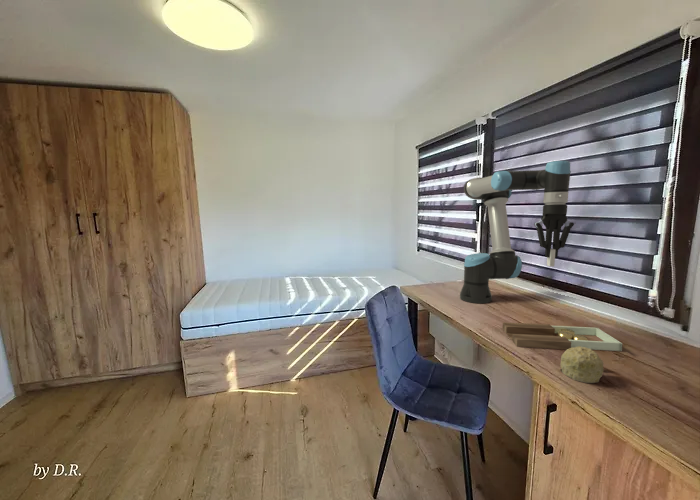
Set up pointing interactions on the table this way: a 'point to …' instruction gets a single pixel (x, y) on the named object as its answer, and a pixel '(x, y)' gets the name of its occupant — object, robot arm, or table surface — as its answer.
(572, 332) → the chip
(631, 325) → the table surface
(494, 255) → the robot arm
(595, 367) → the decorative object
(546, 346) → the slot board
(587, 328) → the tray
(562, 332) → the chip
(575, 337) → the chip
